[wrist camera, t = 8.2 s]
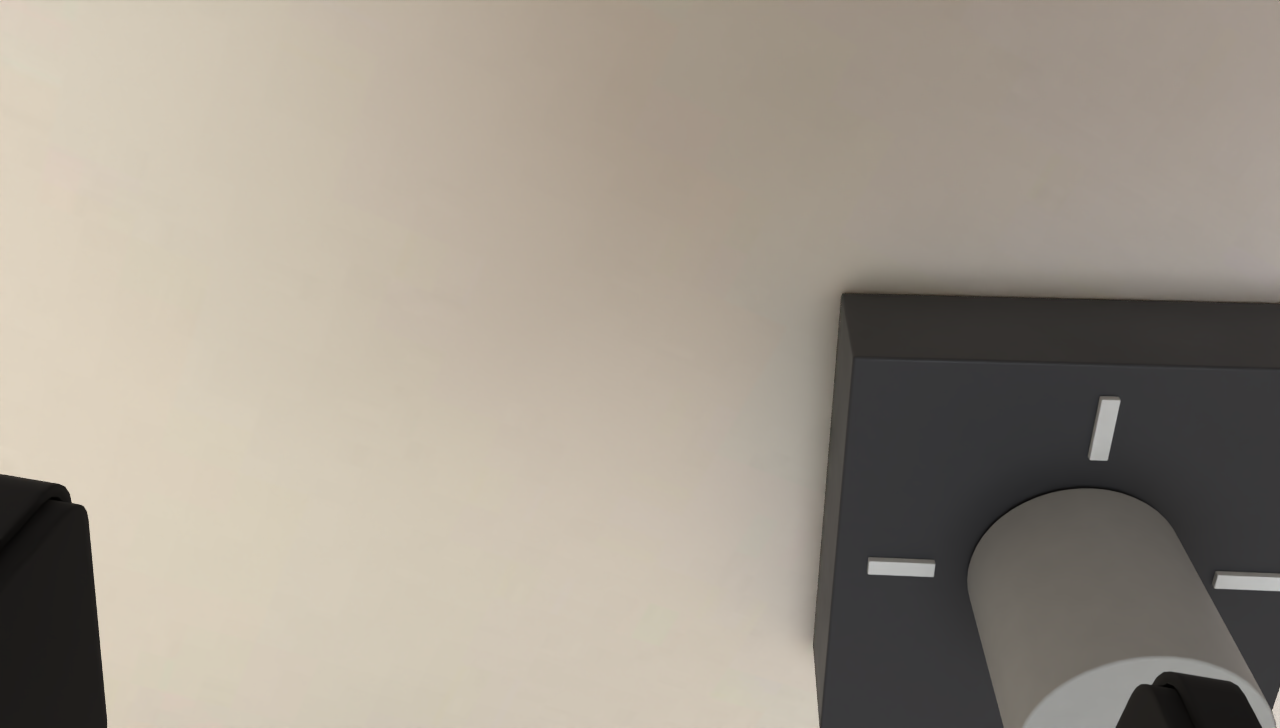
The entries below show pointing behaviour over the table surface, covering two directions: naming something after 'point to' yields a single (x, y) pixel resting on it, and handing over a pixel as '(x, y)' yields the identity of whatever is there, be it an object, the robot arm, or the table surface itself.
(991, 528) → the timer knob
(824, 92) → the table surface
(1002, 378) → the panel
